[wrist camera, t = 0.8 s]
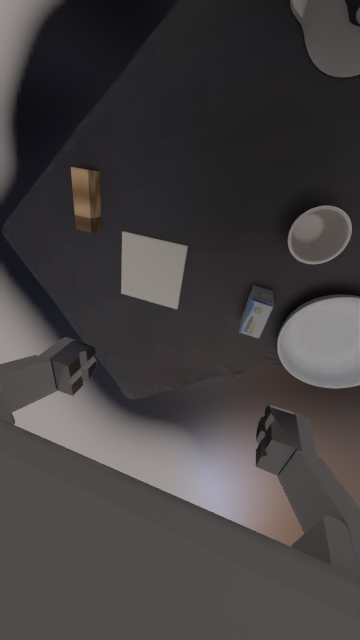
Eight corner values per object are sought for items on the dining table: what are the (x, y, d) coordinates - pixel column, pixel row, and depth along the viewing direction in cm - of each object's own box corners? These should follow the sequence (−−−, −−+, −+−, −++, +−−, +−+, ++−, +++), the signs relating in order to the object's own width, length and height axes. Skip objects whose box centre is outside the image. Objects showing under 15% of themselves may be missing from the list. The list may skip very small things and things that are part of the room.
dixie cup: (273, 231, 44) (275, 240, 36) (311, 192, 40) (324, 192, 32) (304, 260, 45) (313, 275, 37) (345, 224, 41) (366, 232, 32)
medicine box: (260, 320, 54) (259, 339, 47) (241, 314, 55) (238, 333, 47) (273, 290, 50) (275, 306, 42) (252, 284, 50) (251, 299, 43)
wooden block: (83, 168, 50) (70, 167, 46) (99, 171, 49) (87, 170, 46) (87, 226, 56) (76, 228, 53) (101, 230, 55) (91, 232, 52)
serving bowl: (414, 325, 45) (436, 345, 39) (324, 382, 56) (331, 403, 50) (329, 264, 44) (339, 274, 39) (256, 333, 56) (255, 349, 50)
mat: (123, 231, 54) (122, 231, 53) (188, 245, 51) (187, 246, 50) (122, 292, 62) (121, 293, 61) (177, 308, 59) (177, 309, 59)
